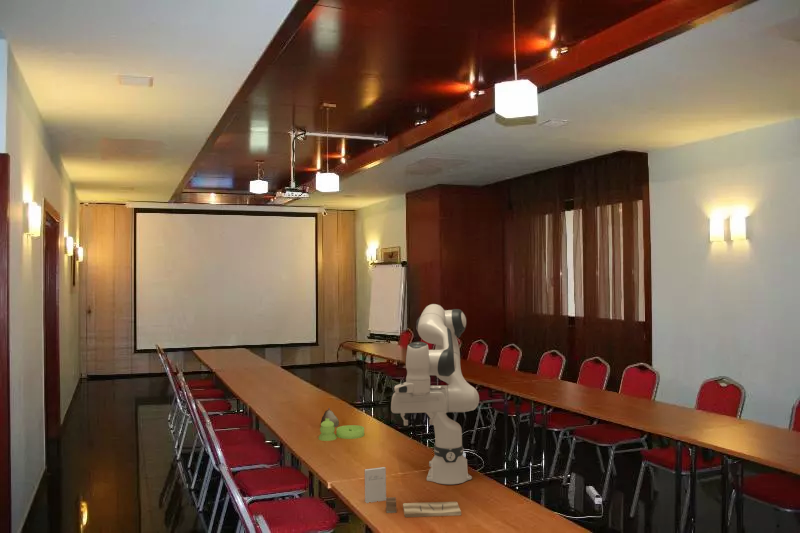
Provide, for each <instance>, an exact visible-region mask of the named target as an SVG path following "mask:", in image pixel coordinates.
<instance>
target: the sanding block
mask: <svg viewBox="0 0 800 533" xmlns="http://www.w3.org/2000/svg"><path fill="white" fill-rule="evenodd" d="M385 506H386V507H385V509H386V514H394V513H395V514H396V513H397V497H396V496H393V497H392V496H391V497H387V496H386V500H385Z"/></svg>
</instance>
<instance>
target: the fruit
mask: <svg viewBox="0 0 800 533" xmlns="http://www.w3.org/2000/svg"><path fill="white" fill-rule="evenodd" d="M326 418H329V421H332V422H333V423H334V427H335V428H337V427H339V424H340V421H339V419H338V417H337V415H335V413H334V412H333V410H330V408H328V409H327V410H325V411H324V413H323V415H322V416H321V420H320V424H321V423H322V422H323V421H325V419H326Z"/></svg>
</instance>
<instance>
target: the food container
mask: <svg viewBox="0 0 800 533" xmlns="http://www.w3.org/2000/svg"><path fill="white" fill-rule="evenodd" d="M335 431H336V433H335ZM319 432H320V434H319V435H318V440H319V441H322V442H323V441H324V442H330V441H335V440H337V438H339V439H344V440H354V439H355V440H356V439H360V438H363V437H365V427H364V426H362V425H355V424H350V425H349V424H348V425H347V424H346V425H341V426H337V427H334V423H333V422H332V421H329V418H326V419H325V421H323V422H322V423H321V422H320V427H319Z"/></svg>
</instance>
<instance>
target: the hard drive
mask: <svg viewBox="0 0 800 533" xmlns="http://www.w3.org/2000/svg"><path fill="white" fill-rule="evenodd" d="M386 469H387V468H386V467H385V466H382V467H381V466H380V467H374V468H365V469H364V503H365V502H366V503H365V504H370V503H369V502H371V503H377V501H378V502H383V501H385V502H386V497H387V484H386V483H387V475H386V474H387V471H386Z"/></svg>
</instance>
